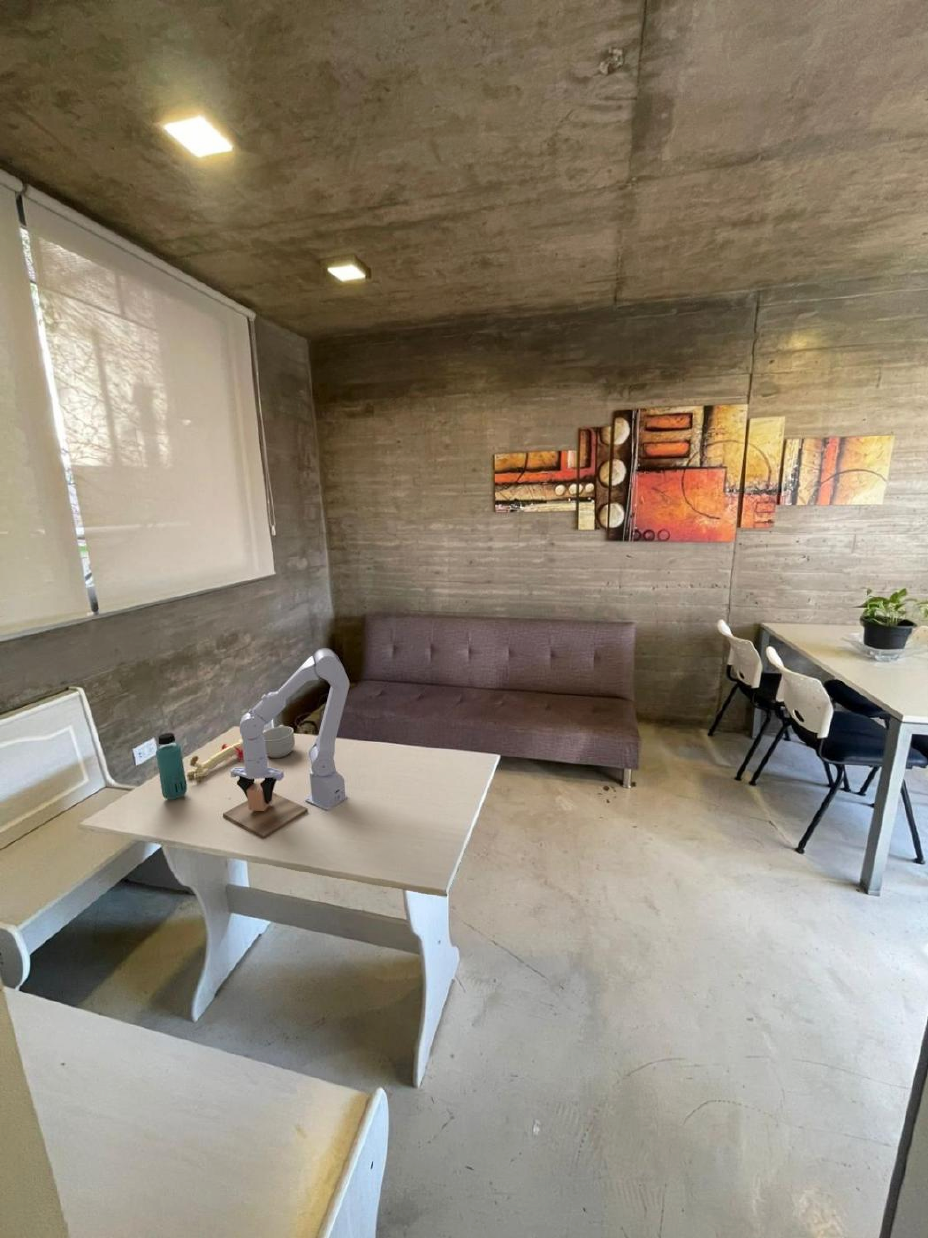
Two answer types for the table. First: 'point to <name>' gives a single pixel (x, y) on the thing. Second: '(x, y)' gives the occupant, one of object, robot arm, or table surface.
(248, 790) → the block
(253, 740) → the robot arm
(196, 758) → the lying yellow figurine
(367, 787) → the table surface
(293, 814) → the board
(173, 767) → the beverage bottle
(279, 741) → the teacup
